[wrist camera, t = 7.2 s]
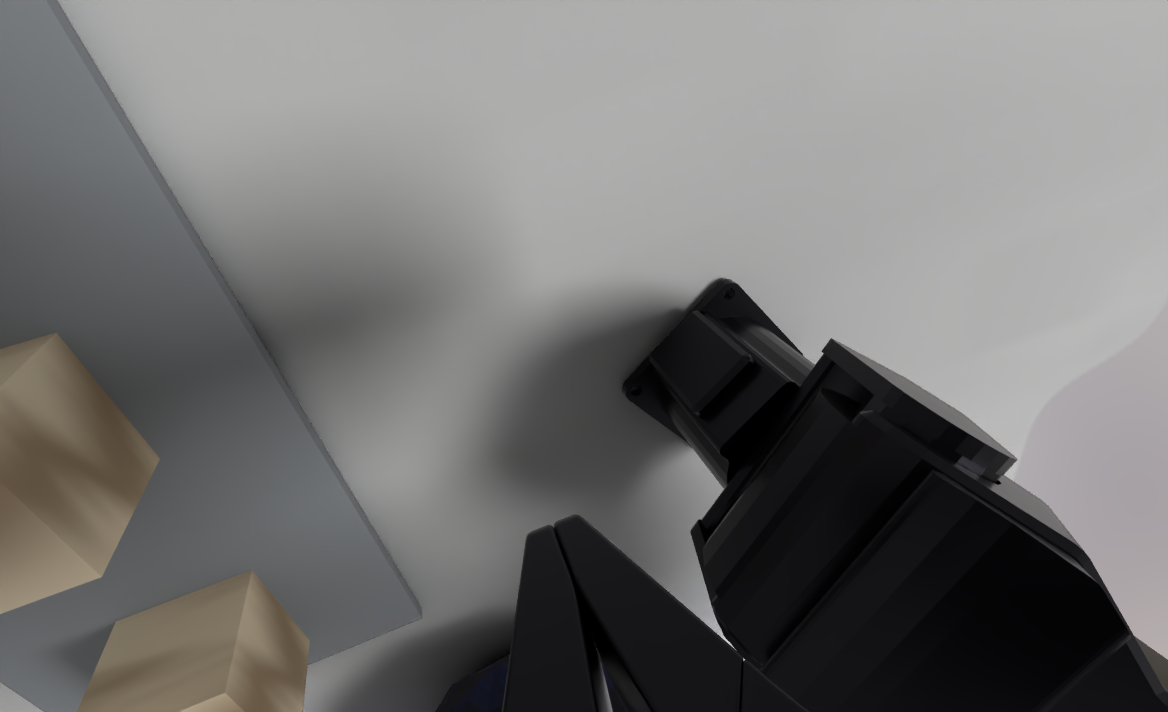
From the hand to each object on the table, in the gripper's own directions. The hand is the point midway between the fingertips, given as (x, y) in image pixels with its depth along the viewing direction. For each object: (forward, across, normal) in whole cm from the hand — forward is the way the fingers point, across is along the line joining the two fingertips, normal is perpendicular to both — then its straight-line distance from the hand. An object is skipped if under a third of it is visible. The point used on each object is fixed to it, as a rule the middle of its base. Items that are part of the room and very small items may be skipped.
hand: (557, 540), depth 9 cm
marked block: (+12, +14, +12) cm, 22 cm away
